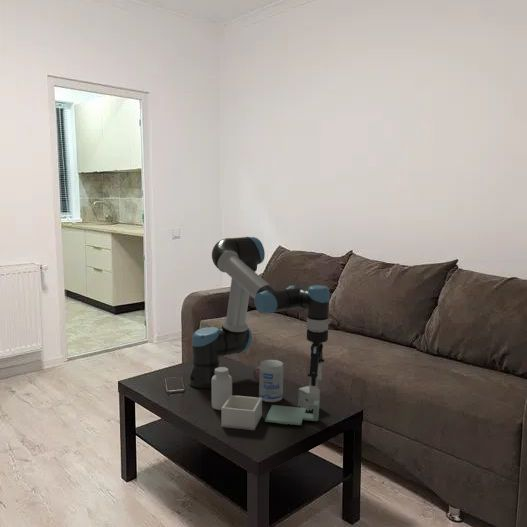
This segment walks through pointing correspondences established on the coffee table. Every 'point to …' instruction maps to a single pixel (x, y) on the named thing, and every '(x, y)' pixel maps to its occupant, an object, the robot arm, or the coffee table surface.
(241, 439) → the coffee table surface
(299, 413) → the lid
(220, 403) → the pill bottle
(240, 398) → the box
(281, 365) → the supplement tub
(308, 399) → the skincare box
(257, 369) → the video game controller
